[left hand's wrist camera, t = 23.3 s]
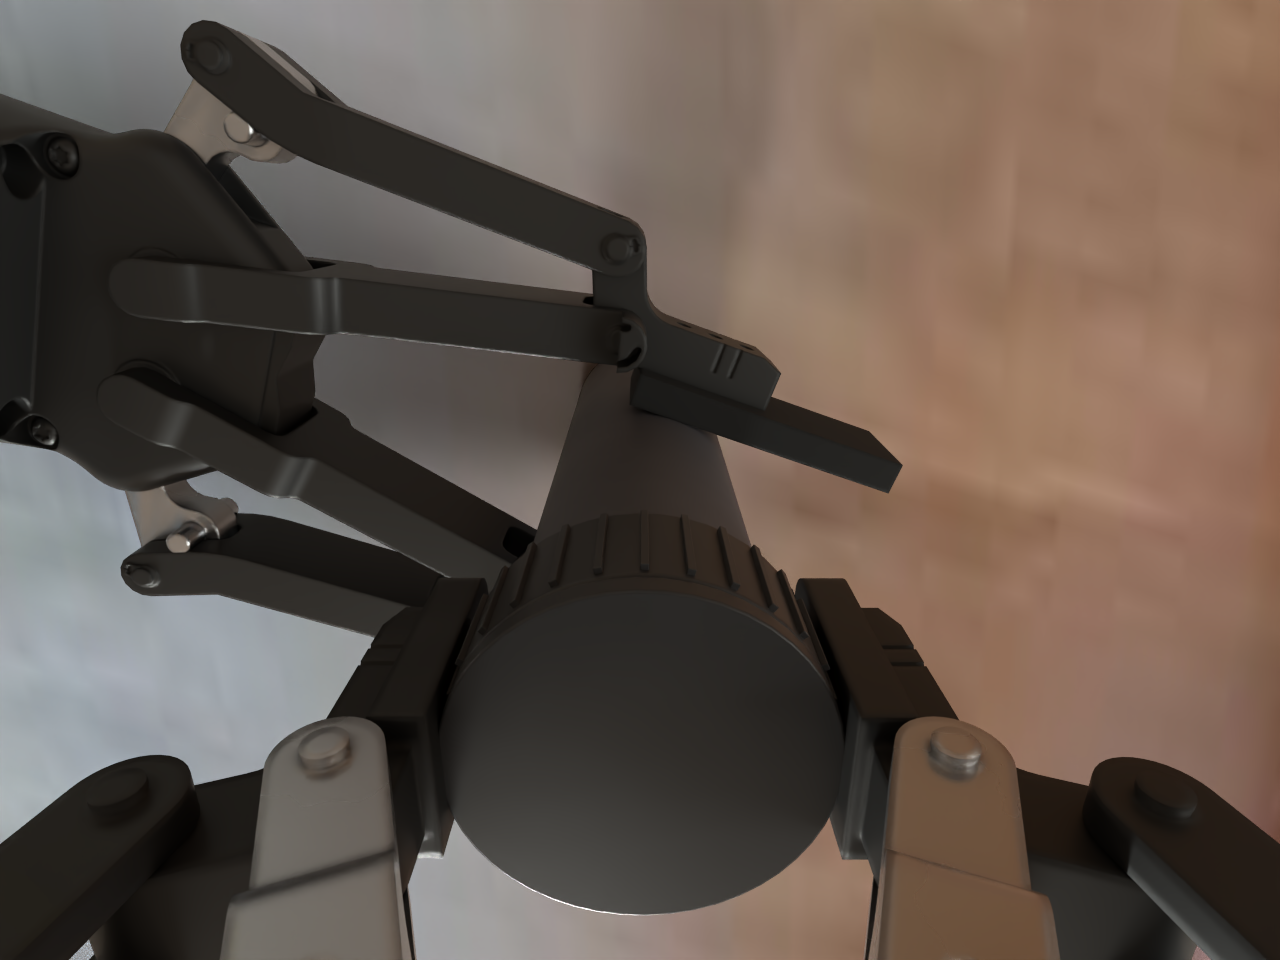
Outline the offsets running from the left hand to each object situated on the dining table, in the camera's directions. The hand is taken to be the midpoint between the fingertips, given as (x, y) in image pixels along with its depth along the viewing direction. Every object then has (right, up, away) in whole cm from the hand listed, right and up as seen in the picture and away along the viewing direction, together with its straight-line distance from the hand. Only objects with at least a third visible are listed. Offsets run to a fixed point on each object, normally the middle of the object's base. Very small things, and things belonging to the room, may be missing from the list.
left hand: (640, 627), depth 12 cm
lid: (0, -1, -3) cm, 3 cm away
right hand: (+5, +1, +7) cm, 9 cm away
